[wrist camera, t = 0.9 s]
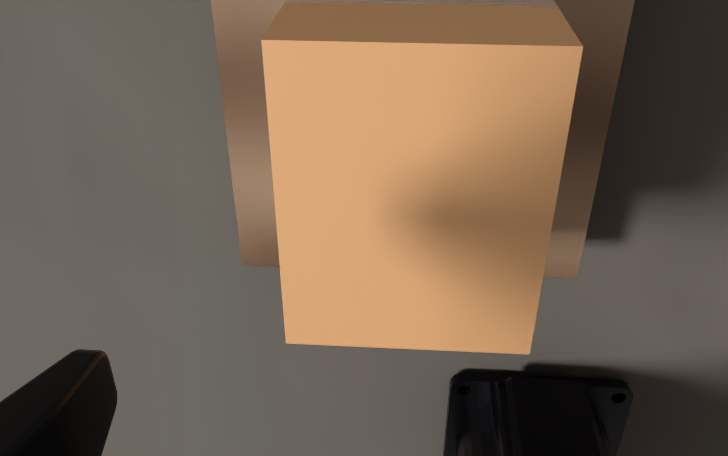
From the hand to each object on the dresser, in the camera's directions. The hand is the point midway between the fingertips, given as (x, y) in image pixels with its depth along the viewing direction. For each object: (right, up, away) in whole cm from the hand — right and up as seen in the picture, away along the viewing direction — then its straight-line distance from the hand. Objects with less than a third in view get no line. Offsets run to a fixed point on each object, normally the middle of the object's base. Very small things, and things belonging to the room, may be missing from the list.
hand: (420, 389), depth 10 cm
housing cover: (0, +4, +6) cm, 7 cm away
